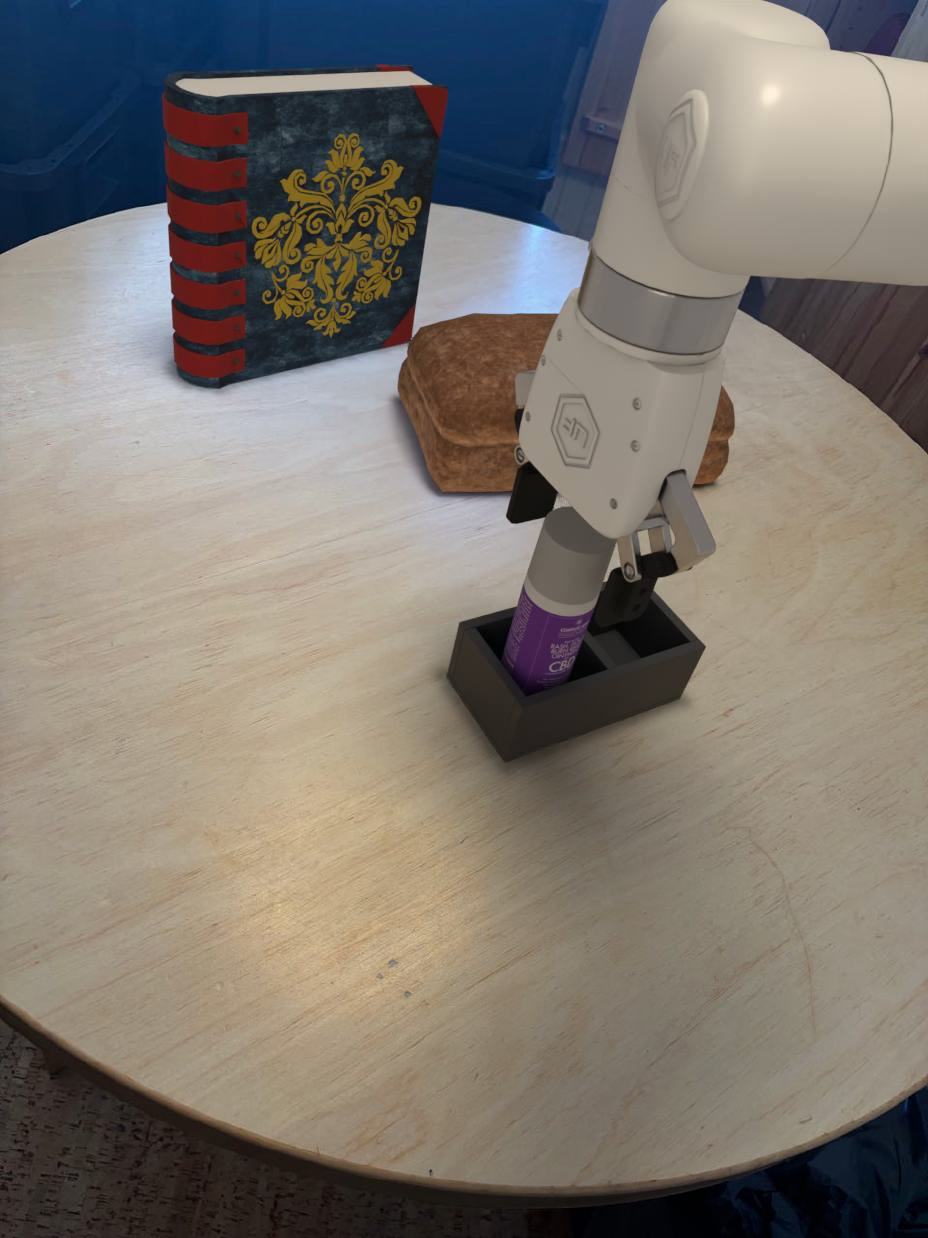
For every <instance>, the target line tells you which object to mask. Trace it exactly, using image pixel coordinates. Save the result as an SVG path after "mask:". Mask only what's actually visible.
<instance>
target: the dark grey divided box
mask: <svg viewBox="0 0 928 1238" xmlns="http://www.w3.org/2000/svg"><path fill="white" fill-rule="evenodd" d="M606 583H607V580H606V581H603V584H602V587H601V590H600V593H599V596H598V599H597V603H596V605H595V608H594V611H593V614H592V616H591V619H590V622H589V624H588V627H587V630H586V632H585V635H584V638H583V640H582V643H581V646H580V648H579V651H578V654H577V657H576V659H575V662H574V665H573V667H572V670H571V673H570V675H569V678H568V681H567V683H566V684H563V685H560V686H557V687H554V688H551V689H548V690H545V691H542V692H539V693H536V694H533V695H530V696H527V697H526V696H525V695H524V693H523V692H522V690H521V689H520V688H519V686H518V685H517V684H516V682H515V681H514V680H513V678H512V677H511V676H510V674H509V673H508V671H507V670H506V669H505V667H504V666H503V665H502V663H501V659H502V656H503V652H504V649H505V645H506V642H507V638H508V635H509V631H510V628H511V625H512V621H513V618H514V614H515V611H516V607H517V605H516V606H512V607H508V608H504V609H502V610H498V611H495V612H491V613H488V614H483V615H480V616H477V617H472V618H469V619H466V620H462V621H459V622H458V626H457V630H456V634H455V639H454V643H453V648H452V651H451V656H450V660H449V664H448V668H447V672H446V679H447V680H448V681H449V682H450V685H451V687H453V689H454V691H455V692H456V693H457V695H458V696H459V698H460V699H461V701H462V702H463V704H464V705H465V706H466V708H467V709H468V711H469V712H470V713H471V715H472V716H473V718H474V719H475V721H476V722H477V724H478V725H479V727H480V729H481V730H482V731H483V733H484V734H485V736H486V738H487V739H488V740H489V741H490V743H491V744H492V746H493V747H494V749H495V750H496V752H497V753H498V755H499V756H500V758H501V759H502V760H503V762H504V763H507V762H509V761H512V760H516V759H517V758H521V757H523V756H526V755H529V754H532V753H534V752H537V751H539V750H543V749H545V748H548V747H550V746H551V747H552V746H553V745H557V744H559V743H561V742H564V741H567V740H569V739H573V738H575V737H577V736H580V735H583V734H586V733H589V732H591V731H594V730H597V729H600V728H603V727H605V726H608V725H612V724H614V723H616V722H619V721H622V720H625V719H627V718H630V717H632V716H635V715H638V714H640V713H641V714H642V713H643V712H646V711H649V710H652V709H654V708H657V707H660V706H662V705H666V704H668V703H671V702H674V701H676V700H679V699H681V698H682V697H683V693H684V691H686V690H685V689H686V688H687V686H688V684H689V682H690V680H691V678H692V676H693V674H694V673H695V670H696V669H697V666H698V664H699V662H700V660H701V658H702V656H703V654H704V652H705V650H706V648H707V646H706V645H705V643H704V642H702V640H701V639H699V637H698V636H697V635H696V634H695V633H694V632H693V631H692V630H691V629H690V628H689V626H688V625H687V624H686V623H685V622H684V621H683V620H682V619H681V618H680V617H679V616H678V614H676V613H675V611H674V610H673V609H672V608H671V607H670V605H669V604H667V603H666V602H665V601H664V599H663V598H662V597H661V596H660V595H659V594H658V593H657V592H656V591H655V590H654V589H653V592H652V594H651V597H650V599H649V601H648V604H647V606H646V609H645V611H644V612H643V613H642V615H640V616H639V617H638V618H636V619H633V620H630V621H622V622H619V623H615V624H612V625H609V626H605V627H600V626H599V625H598V624H597V622H596V621H595V613H596V610H597V607H598V604H599V602H600V599H601V596H602V594H603V591H604V588H605V585H606Z"/></svg>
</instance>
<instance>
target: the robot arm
mask: <svg viewBox="0 0 928 1238" xmlns="http://www.w3.org/2000/svg"><path fill="white" fill-rule="evenodd" d="M620 131H621V132H620V135H619V138H618V142H617V147H616V150H615V154H614V158H613V162H612V166H611V169H610V173H609V176H608V181H607V185H606V188H605V192H604V195H603V199H602V203H601V206H600V210H599V213H598V214H599V215H598V218H597V222H596V226H595V230H594V234H593V235H592V236H591V238H590V240H589V242H588V246H587V249H588V256H587V260H586V263H585V267H584V271H583V275H582V279H581V283H580V286H578V287H575V288H573V289H572V290H571V291H570V292H569V294H568V296H567V297H566V299H565V300H564V303H563V304H562V307H561V308H560V310H559V313H557V314H558V317H557V319H556V321H555V323H554V325H553V327H552V329H551V332H550V334H549V337H548V339H547V342H546V344H545V347H544V349H543V352H542V355H541V358H540V360H539V363H538V366H537V369H536V370H532V371H524V372H518V373H517V374H516V376H515V389H516V405H518V408H519V409H517V410H516V411H515V414H514V421H515V425H516V429H517V434H518V438H519V443H520V444H519V445H517V446H516V448H515V452H514V453H515V459H516V461H517V463H518V464H519V465H521V467H519V468H518V470H517V474H516V478H515V482H514V485H513V489H512V491H511V495H510V498H509V502H508V506H507V508H506V509H507V510H506V514H505V518H506V519H507V521H508V522H509V523H510V524H512V525H518V524H523V523H527V522H531V521H536V520H540V519H545V517H546V516H547V514H548V513H549V512H551V511H552V510H554V509H555V508H554V507H555V504H556V501H557V497H558V495H559V494H560V496H562V497H563V498H564V500H565V501H566V502H567V503H568V504H569V505H570V506H571V507H573V508H574V509H575V510H576V511H577V512H578V513H579V514H580V515H581V516H582V517H583V518H584V519H585V520H586V521H587V522H588V523H589V524H590V525H591V526H592V527H593V528H594V529H595V530H596V531H597V532H599V533H600V534H602V535H603V536H605V537H608V538H612V539H615V538H616V539H617V542H616V545H617V551H618V556H619V563H620V566H618V567H615V568H613V569H611V570H610V572H609V574H608V577H607V580H606V581H607V583H606V585H605V588H604V591H603V594H602V596H601V599H600V602H599V604H598V607H597V610H596V613H595V621H596V622H597V624H598V625H599V626H600V627H605V626H609V625H612V624H615V623H619V622H622V621H630V620H633V619H636V618H638V617H639V616H640V615H642V613H643V612H644V611H645V609H646V606H647V604H648V601H649V599H650V597H651V594H652V592H653V590H654V589H655V587H656V584H657V582H658V580H659V578H666V577H669V576H674V575H677V574H680V573H684V572H688V571H691V570H692V569H693V567H694V566H697V565H699V564H700V563H701V562H703V561H704V560H706V559H708V558H709V557H711V556H712V555H714V553H716V549H717V543H716V539H715V538H714V535H713V533H712V531H711V529H710V527H709V524H708V522H707V520H706V518H705V516H704V514H703V512H702V509H701V507H700V505H699V503H698V501H697V498H696V496H695V494H694V492H693V486H694V485H695V484H694V481H695V478H696V475H697V473H698V470H699V467H700V464H701V461H702V458H703V455H704V452H705V449H706V446H707V442H708V439H709V435H710V432H711V429H712V425H713V421H714V417H715V413H716V409H717V405H718V400H719V395H720V390H721V386H723V380H724V373H725V368H726V362H727V361H726V360H727V359H726V357H725V356H724V355H723V353H722V350H723V347H724V345H725V342H726V339H727V337H728V334H729V332H730V329H731V327H732V324H733V321H734V319H735V316H736V313H737V311H738V308H739V305H740V304H741V300H742V298H743V295H744V293H745V290H746V287H747V285H748V284H749V281H750V278H751V277H765V278H780V279H781V278H782V279H795V280H796V279H799V280H806V279H817V280H830V281H846V282H858V283H871V284H873V283H874V284H886V285H897V286H912V287H913V286H914V287H917V286H918V287H928V62H926V61H919V60H913V59H907V58H901V57H894V56H887V55H881V54H874V53H868V52H867V53H866V52H860V51H848V52H847V51H841V50H835V49H831V46H830V40H829V38H828V36H827V35H826V32H825V30H824V29H823V28H822V27H821V26H819V25H818V24H817V23H816V22H815V21H813V20H812V19H811V18H809V17H807V16H805V15H803V14H801V13H799V12H797V11H794V10H791V9H789V8H787V7H784V6H783V5H778V4H776V3H773V2H770V1H766V0H666V1H665V2H664V3H663V4H662V5H661V6H660V7H659V9H658V11H657V12H656V13H655V16H654V17H653V19H652V21H651V23H650V26H649V29H648V32H647V35H646V39H645V41H644V45H643V48H642V52H641V56H640V58H639V63H638V66H637V71H636V75H635V78H634V83H633V86H632V90H631V95H630V97H629V101H628V106H627V108H626V113H625V116H624V120H623V123H622V127H621V130H620ZM643 531H647V534H648V541H649V547H650V552H649V553H645V554H642V551H641V545H640V540H639V532H643ZM671 531H672V533H673V536H674V543H673V541H672V540H673V539H672V535H671Z"/></svg>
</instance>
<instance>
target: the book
mask: <svg viewBox="0 0 928 1238" xmlns="http://www.w3.org/2000/svg"><path fill="white" fill-rule="evenodd" d="M413 70H414V66H413V65H411V64H410V63H409V64H375V65H356V66H355V65H354V66H330V67H329V66H328V67H327V66H325V67H297V68H296V67H295V68H267V69H266V68H265V69H239V70H212V71H208V70H207V71H181V70H180V71H178V70H177V71H174V72H172V73H169V74H167V75H166V76H165V78H164V92H163V93H162V94H161V96H162V97H161V99H162V100H161V101H162V118H163V119H162V120H163V129H164V131H165V132H166V138H165V139H164V140H163V144H164V146H163V147H164V164H165V173H166V175H167V177H168V181H167V182H166V184H165V189H166V191H165V192H166V208H167V216H168V218H169V219H170V220H169V221H170V222H169V223H168V225H167V232H168V236H167V237H168V253H169V257H170V258H171V261H170V262H169V276H170V277H169V278H170V294H172V298H171V299H170V303H171V304H170V305H171V321H172V329H173V330H174V332H173V333H172V347H173V362H174V364H176V366H175V367H176V371H177V374H178V376H179V377H180V378H181V379H182V380H183V381H185V382H187V383H189V384H191V385H193V386H197V387H200V388H201V387H202V388H208V389H221V388H223V387H225V386H228V385H230V384H235V383H239V382H243V381H248V380H253V379H257V378H260V377H265V376H270V375H274V374H277V373H281V372H286V371H291V370H294V369H299V368H302V367H307V366H312V365H315V364H320V363H325V362H329V361H332V360H333V361H334V360H337V359H342V358H345V357H350V356H354V355H358V354H359V355H360V354H362V353H367V352H371V351H375V350H381V349H386V348H391V347H394V346H395V347H396V346H399V345H400V346H401V345H403V344H406V343H409V342H410V341H411V340H412V338H413V331H414V323H415V315H416V309H417V301H418V294H419V288H420V287H419V286H420V280H421V274H422V273H421V272H422V266H423V261H424V260H423V259H424V252H425V246H426V239H427V233H428V232H427V231H428V225H429V218H430V212H431V204H432V198H433V193H434V185H435V177H436V170H437V164H438V157H439V151H440V142H441V136H442V131H443V126H444V121H445V115H446V110H447V104H448V103H447V102H448V99H449V92H448V87H449V86H448V85H446V84H445V83H438V84H437V83H436V84H433V83H431V82H429V81H427V80H426V79H424V78H422V77H421V76H419V75H417V74H415V73H414V71H413Z"/></svg>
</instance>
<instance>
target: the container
mask: <svg viewBox="0 0 928 1238" xmlns="http://www.w3.org/2000/svg"><path fill="white" fill-rule="evenodd" d="M616 545H617V539H616V538H615V539H612V538H608V537H605V536H603V535H602V534H600V533H599V532H597V531H596V530H595V529H594V528H593V527H592V526H591V525H590V524H589V523H588V522H587V521H586V520H585V519H584V518H583V517H582V516H581V515H580V514H579V513H578V512H577V511H576V510H575V509H574V508H573V507H572V506H571V505H570V506H569V505H568V506H561V507H557V508H553V510H552V511H551V512H549V513H548V514H547V516H546V517H545V518H543V523H542V526H541V529H540V532H539V534H538V538H537V541H536V544H535V547H534V550H533V553H532V556H531V559H530V562H529V565H528V568H527V571H526V574H525V577H524V580H523V583H522V587H521V589H520V594H519V597H518V600H517V604H516V606H517V607H516V606H515V607H516V611H515V614H514V618H513V621H512V625H511V628H510V631H509V635H508V638H507V642H506V645H505V649H504V652H503V656H502V659H501V663H502V665H503V666H504V667H505V669H506V670H507V671H508V673H509V674H510V676H511V677H512V678H513V680H514V681H515V682H516V684H517V685H518V686H519V688H520V689H521V690H522V692H523V693H524V695H525V696H526V697H527V696H530V695H533V694H536V693H539V692H542V691H545V690H548V689H551V688H554V687H557V686H560V685H563V684H566V683H567V681H568V678H569V675H570V673H571V670H572V667H573V665H574V662H575V659H576V657H577V654H578V651H579V648H580V646H581V643H582V640H583V638H584V635H585V632H586V630H587V627H588V624H589V622H590V619H591V616H592V614H593V611H594V608H595V605H596V603H597V599H598V596H599V593H600V590H601V587H602V584H603V582H605V578H606V575H607V572H608V569H609V566H610V562H611V561H612V557H613V554H614V551H615V548H616Z"/></svg>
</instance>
